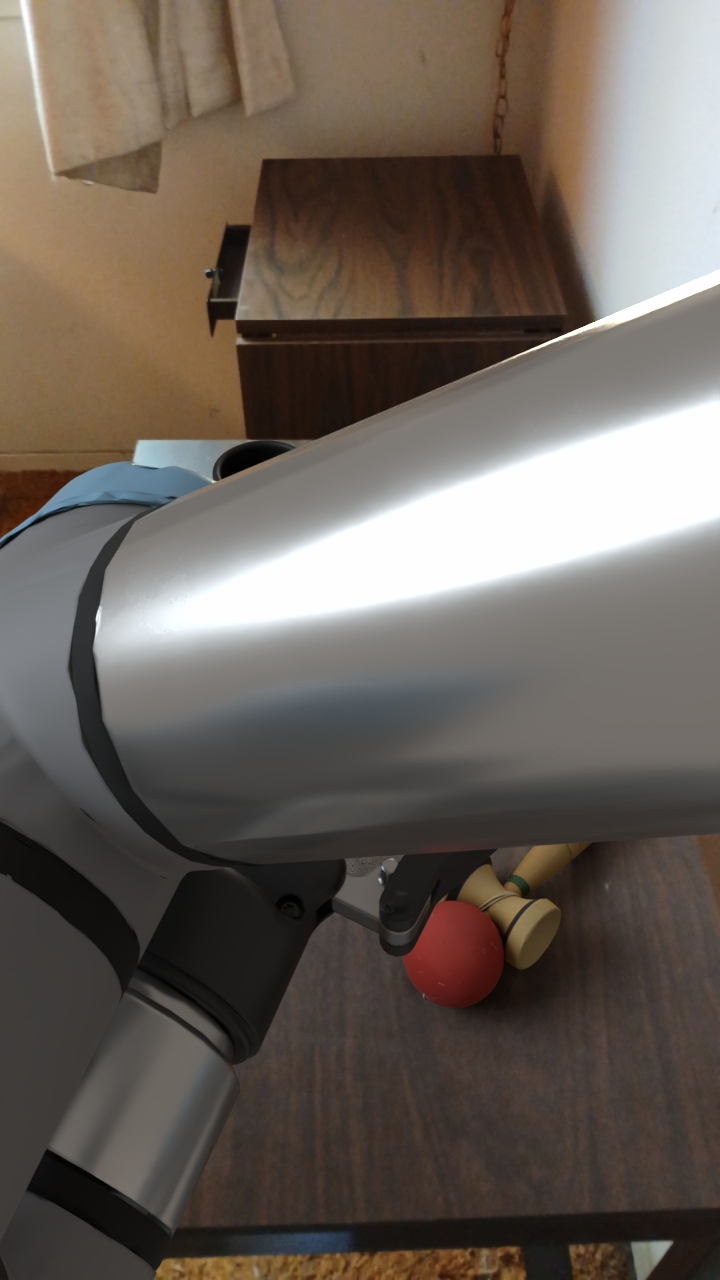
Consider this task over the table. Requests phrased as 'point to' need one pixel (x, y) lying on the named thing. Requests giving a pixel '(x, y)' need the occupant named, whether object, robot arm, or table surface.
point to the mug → (248, 456)
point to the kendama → (487, 929)
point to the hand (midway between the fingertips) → (387, 560)
